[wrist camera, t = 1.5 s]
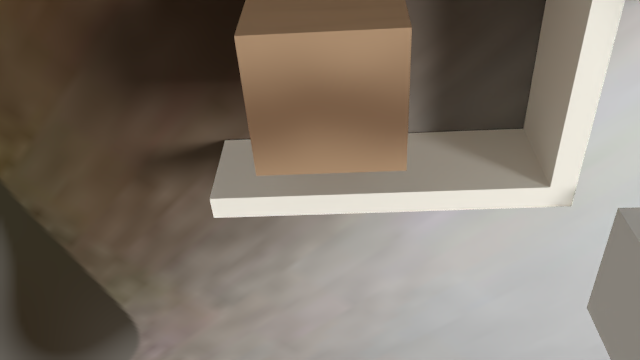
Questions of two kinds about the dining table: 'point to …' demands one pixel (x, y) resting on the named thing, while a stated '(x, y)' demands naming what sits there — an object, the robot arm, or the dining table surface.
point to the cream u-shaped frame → (462, 143)
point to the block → (325, 84)
